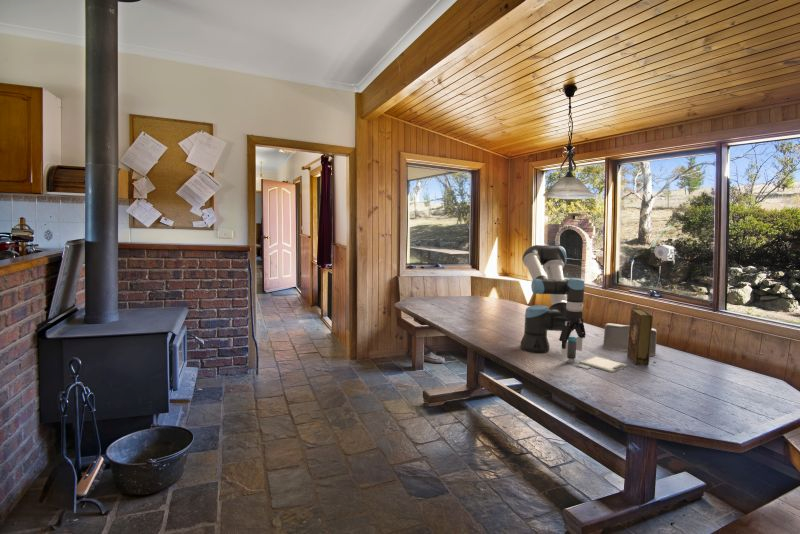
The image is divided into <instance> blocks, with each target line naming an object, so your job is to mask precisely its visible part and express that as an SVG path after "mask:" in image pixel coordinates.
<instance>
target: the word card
mask: <svg viewBox="0 0 800 534" xmlns="http://www.w3.org/2000/svg"><path fill="white" fill-rule="evenodd" d="M575 367H578V368H582V369H584V368H585V369H586V370H589V368H590V369H592V368H593V367H591V366H588V365H584V364H581V363H578V364H575Z"/></svg>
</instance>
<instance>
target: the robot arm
mask: <svg viewBox="0 0 800 534" xmlns="http://www.w3.org/2000/svg"><path fill="white" fill-rule="evenodd" d="M566 251H567V250H566V249H565V248H564V247H563V246H561V245H556V244H555V245H542V244H541V245H539V244H538V245H537V244H536V245H532V246H530V247H528V248H527V249H525V251H524V252H523V254H522V263H523V265H524V266H525V268H527V270H528V272H529V274H530V277H531V279H532V280H531V285H530V286H531V291H532V294H535V295H536V294H538V295H550V296H549V297H550V301H551V305H550V306H548V305H543V304H535V305H529V306H527V307H526V308H525V313H524V314H525V315H524V332H523V336H522V339H521V341H520V343H519V348H520V349H521V350H522V351H525V352H529V353H535V354H536V353H537V354H544V353H549V352H550V343H549V340H548V331H553V332H554V331H555V332H560V335H559V338H558V341H559V342H561V350H560V351H561V353H560V355H563V356H566V357H567V350H568V338H569V337H571V334H572V332H573V331H574V330H575V333H576V335H577V337H576V338H577V345H576V351H580V352H582V351H583V343H584V341H583V340H584V339H585V338H586V336H587V334H586V330H585V325H584V318H583V314H584V313H583V312H584V311H583V310H584V300H585V299H584V295H585V288H586V287H585V279H583V278H579V277H569V278H564V277H565V276H564V271H563V268H565V265H566V264H567V259H568V258H567V257H568V256H567V252H566ZM545 271H546V272H545Z"/></svg>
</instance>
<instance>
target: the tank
mask: <svg viewBox="0 0 800 534" xmlns="http://www.w3.org/2000/svg"><path fill="white" fill-rule="evenodd" d="M629 328H630V325H627V324H626V325H625V324H619V323H612V322H611V323H609V322H608V323H605V326H604V331H603V332H604V333H603V340H602V341H603V343H602V347H603V349H605V350H610V351H611V350H613V351H618V350H619V352H625V351H627V352H628V340H629ZM657 337H658V332H657V329H656V328H653V327H652V332H651V344H650V355H649V356H652V355H653V356H655V355H656V352H657V350H656V349H657V339H658V338H657ZM627 352H626V353H627Z"/></svg>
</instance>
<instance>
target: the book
mask: <svg viewBox="0 0 800 534" xmlns="http://www.w3.org/2000/svg"><path fill="white" fill-rule="evenodd" d="M653 317H654V315H653V314H651V313H650V312H648V311H646V310H645V309H643V308H634V307H633V308H630V317H629V326H630V328H629V334H628V335H629V340H628V352H626V353H627V355H626V356H627V358H629V360H631V362H632V363H634V364H635V365H643V366H649V364H650V356H651V355H650V344H651V332H652V328H653Z"/></svg>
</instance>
